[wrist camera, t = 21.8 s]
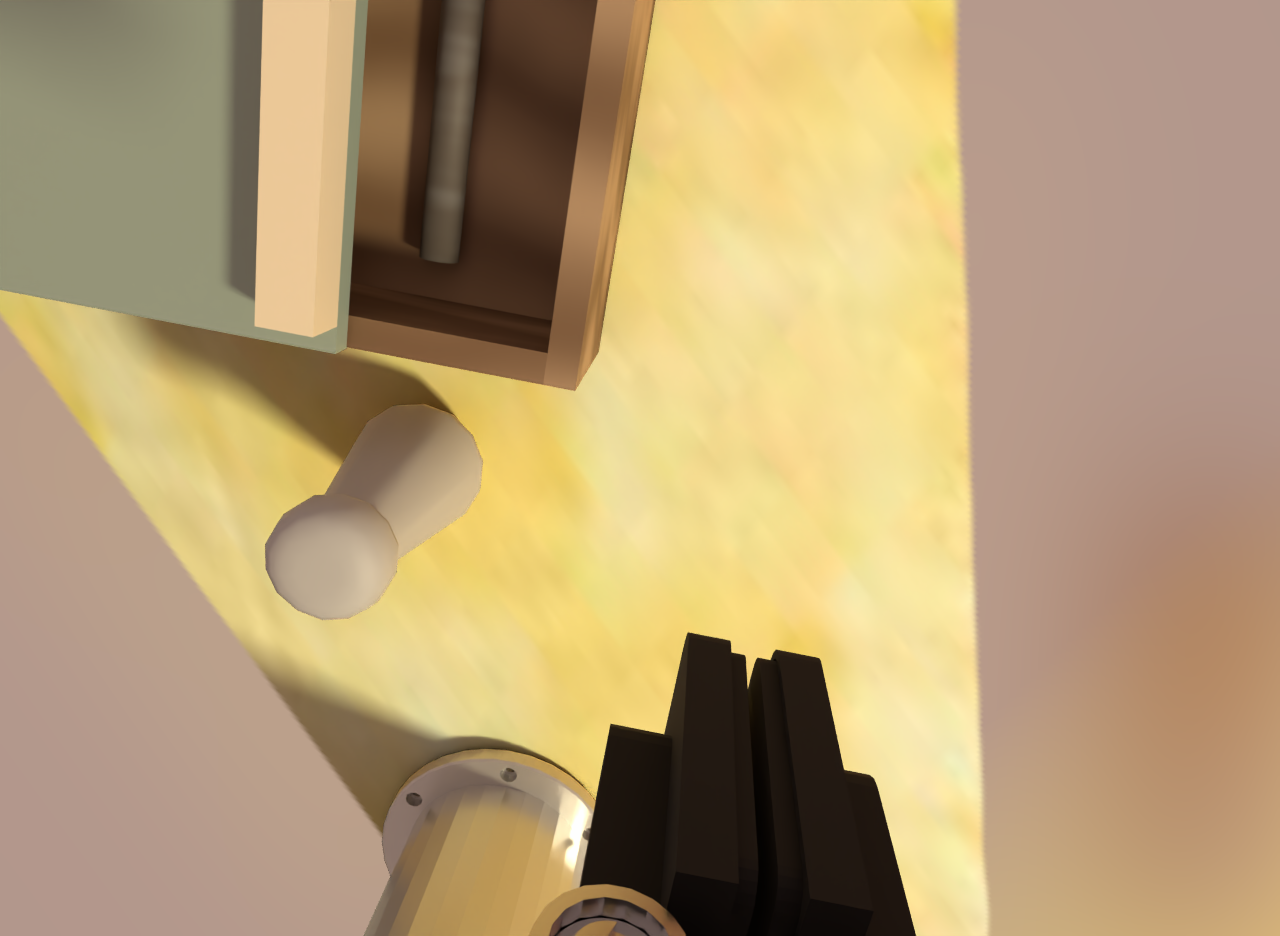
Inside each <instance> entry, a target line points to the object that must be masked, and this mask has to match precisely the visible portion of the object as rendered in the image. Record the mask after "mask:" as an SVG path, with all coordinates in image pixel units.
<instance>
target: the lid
mask: <svg viewBox="0 0 1280 936" xmlns="http://www.w3.org/2000/svg"><path fill="white" fill-rule="evenodd" d="M367 10H368V0H0V290H4V291H9V292H14V293H19V294H25V295H30V296H35V297H40V298H45V299H51V300H56V301H61V302H66V303H72V304H77V305H82V306H87V307H92V308H98V309H103V310H108V311H113V312H119V313H124V314H129V315H134V316H139V317H145V318H150V319H155V320H160V321H165V322H171V323H176V324H181V325H186V326H192V327H197V328H202V329H207V330H212V331H218V332H223V333H228V334H233V335H239V336H244V337H249V338H254V339H259V340H265V341H270V342H275V343H280V344H286V345H291V346H296V347H301V348H306V349H312V350H317V351H322V352H327V353H332V354H337V353H339V352H340V351H342V350H344V349H346V347H347V331H348V315H349V299H350V283H351V267H352V251H353V235H354V219H355V203H356V187H357V171H358V155H359V139H360V123H361V107H362V91H363V75H364V59H365V43H366V27H367Z"/></svg>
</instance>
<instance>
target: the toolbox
mask: <svg viewBox="0 0 1280 936" xmlns="http://www.w3.org/2000/svg"><path fill="white" fill-rule="evenodd" d="M654 5H655V0H368V10H367V27H366V43H365V59H364V75H363V91H362V107H361V123H360V139H359V155H358V171H357V187H356V203H355V219H354V235H353V251H352V267H351V283H350V299H349V315H348V331H347V347H349V348H354V349H359V350H365V351H370V352H375V353H380V354H386V355H391V356H396V357H401V358H406V359H412V360H417V361H422V362H427V363H433V364H438V365H443V366H448V367H453V368H459V369H464V370H469V371H474V372H480V373H485V374H490V375H495V376H500V377H506V378H511V379H516V380H521V381H527V382H532V383H537V384H542V385H547V386H553V387H558V388H563V389H568V390H574V391H575V390H576V388H577V387H578V385H579V383H580V382H581V380H582V378H583V377H584V375H585V373H586V372H587V370H588V369H589V367H590V365H591V364H592V362H593V360H594V359H595V357H596V355H597V354H598V352H599V346H600V340H601V333H602V327H603V321H604V315H605V309H606V302H607V296H608V290H609V284H610V278H611V271H612V265H613V259H614V253H615V247H616V241H617V234H618V228H619V222H620V216H621V210H622V203H623V197H624V191H625V185H626V179H627V172H628V166H629V160H630V154H631V148H632V141H633V135H634V129H635V123H636V117H637V111H638V104H639V98H640V92H641V86H642V80H643V73H644V67H645V61H646V55H647V49H648V42H649V36H650V30H651V24H652V18H653V11H654Z"/></svg>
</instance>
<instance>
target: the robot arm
mask: <svg viewBox="0 0 1280 936" xmlns="http://www.w3.org/2000/svg"><path fill="white" fill-rule="evenodd" d="M382 846H383V853H384V859H385V863H386V865H387V868H388V871H389V873H390V878H389V881H388V883H387V885H386V887H385V890H384V892H383V894H382V896H381V898H380V901H379V903H378V905H377V907H376V909H375V912H374V914H373V916H372V918H371V920H370V923H369V925H368V927H367V929H366V931H365V934H364V936H916V934H915V930H914V926H913V922H912V918H911V914H910V911H909V907H908V903H907V899H906V895H905V891H904V887H903V884H902V880H901V876H900V872H899V868H898V864H897V860H896V857H895V853H894V849H893V845H892V841H891V837H890V833H889V830H888V826H887V822H886V818H885V814H884V810H883V807H882V803H881V799H880V795H879V791H878V787H877V785H876V782H875V780H874V778H873V777H871V776H870V775H867V774H862V773H857V772H852V771H847V770H844V768H843V763H842V758H841V754H840V749H839V744H838V740H837V735H836V730H835V725H834V721H833V716H832V711H831V706H830V702H829V697H828V692H827V688H826V683H825V678H824V673H823V669H822V664H821V661H820V659H819V658H816V657H811V656H806V655H801V654H796V653H791V652H785V651H780V650H775V651H774V653H773V655H772V658H771V660H767V659H762V658H757V659H756V662H755V664H754V668H753V671H752V675H751V679H750V683H749V687H748V688H747V672H746V658H745V655H741V654H736V653H731V641H729V640H724V639H719V638H714V637H709V636H704V635H699V634H694V633H688V634H687V636H686V640H685V644H684V648H683V652H682V657H681V661H680V666H679V670H678V675H677V679H676V684H675V689H674V693H673V698H672V702H671V707H670V711H669V716H668V720H667V725H666V729H665V734H660V733H655V732H650V731H644V730H639V729H634V728H629V727H624V726H619V725H614V724H611V725H610V730H609V735H608V740H607V745H606V750H605V755H604V760H603V765H602V770H601V776H600V781H599V786H598V791H597V796H596V801H595V800H594V799H593V797H592V796H591V795H590V794H589V792H588V791H587V790H586V789H585V788H584V787H582V786H581V785H580V784H579V783H578V782H577V781H576V780H574V779H573V778H572V777H571V776H570V775H568V774H566V773H565V772H563V771H562V770H560V769H558V768H557V767H555V766H553V765H552V764H549V763H547V762H545V761H542V760H540V759H537V758H535V757H532V756H530V755H525V754H521V753H517V752H513V751H509V750H496V749H477V750H465V751H461V752H457V753H453V754H450V755H446V756H443V757H441V758H439V759H437V760H434V761H432V762H430V763H428V764H426V765H425V766H423V767H422V768H421V769H419V770H418V771H417V772H416V773H414V774H413V775H412V776H410V778H409V779H408V780H407V781H406V782H405V784H404V785H403V786H402V787H401V788H400V790H399V791H398V793H397V795H396V797H395V799H394V801H393V803H392V804H391V806H390V808H389V811H388V814H387V817H386V819H385V822H384V826H383V837H382Z"/></svg>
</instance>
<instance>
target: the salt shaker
mask: <svg viewBox="0 0 1280 936" xmlns="http://www.w3.org/2000/svg"><path fill="white" fill-rule="evenodd" d="M482 465H483V460H482V457H481V455H480V452H479V450H478V447H477V445H476V442H475V440H474V437H473V435H472V434H471V433H470V432H469V431H468V430H467V429H466V428H465V427H464V426H463V425H462V424H461V423H460V422H459V420H458V419H457V417H456V416H454V415H453V414H450V413H448V412H445V411H442V410H440V409H437V408H434V407H431V406H429V405H426V404H412V405H395V406H391V407H390V408H388V409H386V410H385V411H383V412H382V413H380V414H379V415H377V416H375V417H374V418H372V419H371V420H369V421H368V422H367V424H366V425H365V427H364V428H363V430H362V432H361V433H360V435H359V437H358V438H357V440H356V441H355V443H354V445H353V446H352V448H351V450H350V452H349V453H348V455H347V457H346V459H345V460H344V462H343V464H342V465H341V467H340V469H339V471H338V472H337V474H336V476H335V478H334V479H333V481H332V483H331V484H330V486H329V488H328V490H327V491H326V493H325V495H314V496H312V497H311V498H309V499H307V500H306V501H304V502H302V503H301V504H299V505H297V506H296V507H294V508H292V509H291V510H289V511H288V512H286V513H285V514H283V516H282V517H281V519H280V520H279V522H278V523H277V525H276V527H275V528H274V530H273V532H272V534H271V535H270V537H269V539H268V540H267V542H266V544H265V558H266V571H267V573H268V575H269V577H270V579H271V581H272V583H273V585H274V587H275V590H276V592H277V593H278V594H279V595H280V596H282V597H283V598H284V599H285V600H286V601H287V602H288V603H290V604H291V605H292V606H293V607H294V608H295V609H296V610H298V611H301V612H303V613H306V614H308V615H311V616H314V617H316V618H319V619H321V620H331V619H348V618H350V617H352V616H354V615H356V614H358V613H360V612H362V611H364V610H366V609H368V608H370V607H371V606H372V605H374V604H375V603H376V602H378V601H379V600H380V598H381V596H382V595H383V593H384V592H385V590H386V589H387V587H388V585H389V584H390V582H391V581H392V579H393V577H394V576H395V574H396V572H397V561H398V559H400V558H401V557H403V556H404V555H406V554H407V553H408V552H410V551H411V550H413V549H414V548H416V547H417V546H419V545H420V544H422V543H423V542H425V541H426V540H428V539H429V538H430V537H432V536H433V535H435V534H436V533H438V532H439V531H441V530H442V529H444V528H445V527H447V526H448V525H450V524H451V523H453V522H454V521H455V520H457V519H458V518H460V517H461V516H463V515H464V514H465V513H466V511H467V510H468V508H469V507H470V505H471V504H472V502H473V501H474V499H475V497H476V496H477V494H478V493H479V491H480V487H481V476H482Z"/></svg>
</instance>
